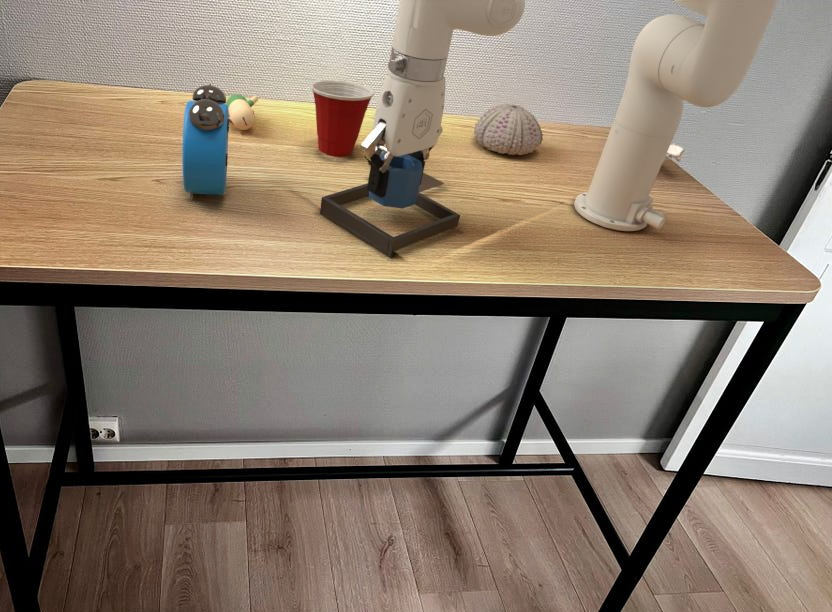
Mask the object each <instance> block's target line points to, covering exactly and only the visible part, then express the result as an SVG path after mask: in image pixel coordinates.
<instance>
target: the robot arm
mask: <svg viewBox="0 0 832 612" xmlns="http://www.w3.org/2000/svg"><path fill="white" fill-rule="evenodd" d="M673 1H674V2H675V3H676V4H679V5H680V6H682V7H684V8H685V9H688V10H689V11H690V10H691V11H692V12H695V13H697V14H700V15H702V16H704V17H705V18H706V19H705V23H702V22H700V21H697V20H695V19H694V18H691V17H689V16H685V15H682V14H675V13H670V14H669V13H668V14H664V15H660V16H657V17H655V18H654V19H652V20H651V21H649V22H648V23H647V24H646V25H645V26H644V27H643V28H642V30H641V31H640V32H639V34H638V35H637V37H636V39H635V41H634V43H633V47H632V51H631V54H630V61H629V67H628V73H627V78H626V83H625V87H624V91H623V94H622V96H621V100H620V103H619V105H618V108H617V111H616V114H615V116H614V119H613V121H612V124H611V126H610V130H609V133H608V136H607V138H606V141H605V143H604V147H603V149H602V152H601V155H600V158H599V160H598V163H597V166H596V169H595V171H594V173H593V177H592V180H591V183H590V185H589V188H588V190H587V191H585V192H581V193H580V194H578V195H577V196H576V197H575V200H574V203H573V206H574V209H575V211H576V212H577V213H578V214H579V215H580V216H581V217H583V218H584V219H585V220H587V221H589V222H591V223H593V224H595V225H598V226H600V227H602V228H607V229H609V230H613V231H620V232H636V231H640V230H643V229H644V228H646V227H647V226H648V225H649V226H651V227H653V228H655V229H657V230H661V229H662V228H663V226H664V224H665V223H666V218H665V212H662V211H661V210H658V209H656V208H654V207H653V205H652V203H653V201H654V199H655V198H654V197H652V196H650V193H651V192H652V189H653V187H654V184H655V182H656V179H657V178H658V175H659V172H660V170H661V168H662V166H663V164H664V162H665V160H664V158H665V159H666V156H667V154H668V153H667V151H668V149H669V146H670V144H671V145H672V143H673V142H672V141H673V139H674V136H675V135H676V133H677V130H678V129H679V125H680V123H681V119H682V115H683V111H684V101H685V102H687V103H689V104H692V105H694V106H696V107H700V108H712V107H717V106H719V105H721V104H722V103H724V102H726V101H727V100H728V99H729V98H731V97H732V95H733V94H735V92H736V91H737V90H738V89H739V88H740V85H741V84H742V83H743V81H744V79H745V77H746V75H747V73H748V71H749V69H750V67H751V65H752V62H753V60H754V57H755V55H756V53H757V51H758V48H759V46H760V44H761V41H762V39H763V37H764V34H765V32H766V29H767V27H768V25H769V22H770V21H771V18H772V15H773V13H774V11H775V8H776V6H777V3H778V0H673ZM397 8H398V9H397V13H396V20H395V26H394V32H393V38H392V45H391V50H390V55H389V61H388V63H387V74H385V77H384V79H383V82H382V86H381V89H380V92H379V96H378V99H377V102H376V103H377V104H376V107H375V112H374V115H373V116H374V117H373V122H372V129H371V132H370V133H369V134H368V136H367V137H366V138H365V139H364V141H362V142H361V144H360V149H361V151H362V153H363V155H364V159H366V161H367V165H368V166H370V167H369V168H370V169H369V173H368V180H367V183H368V185H367V189H368V191H370V192H372V193H373V194H375V195H377V196H379V197H380V198H382V197H385V195H386V189H387V184H388V178H389V171H387V168H388V166H389V164H390V162H391V160H392V158H393V156H402V155H406V154H407V155H409V156H411V157H413V158H415V159H417V160H419V161H421V162H422V169H423V171H422V176H423V172H424V171H425V165H426V161H428V160H429V158H430V152H431V151H432V150H433V148H434V147H435V146H436V144H437V143H438V140H439V137H440V135H441V134H442V133H443V126H442V122H443V117H444V116H443V115H444V109H445V99H446V98H445V97H446V77H445V71H446V66H447V62H448V56H449V52H450V49H451V44H452V39H453V33H454V30H461V31H465V32H469V33H472V34H476V35H481V36H484V37H485V36H487V37H494V36H495V37H496V36H500V35H503V34H505V33H507V32H509V31H511V30H512V29H513V28H515V27H516V26H517V24H519V22H520V20H521V19H522V17H523V14H524V12H525V9H526V0H398V7H397ZM385 152H386V155H385V157H384V159H383V161H382V159H381V158H380V157H379V156H380V154H381V153H385ZM410 153H412V154H410ZM422 176H421V180H422ZM420 185H421V181H420ZM420 185H419V186H420Z"/></svg>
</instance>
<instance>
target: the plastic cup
mask: <svg viewBox="0 0 832 612" xmlns="http://www.w3.org/2000/svg"><path fill="white" fill-rule="evenodd" d="M310 89H311V91H312V93H313V98H314V106H315V120H316V135H317V148H318V151H320V152H321V153H322V154H324V155H326V156H330V157H333V158H334V157H336V158H345V157H346V158H347V157H348V156H351V155H352V154H353V152H354V149H355V146H356V142H357V141H358V138H359V135H360V132H361V128H362V125H363V122H364V118H365V115H366V112H367V110H368V107H369V105H370V102H371V100H372V98H373V97H374V96H375V91H374V90H373V89H372V88H370V87H369V86H367V85H364V84H360V83H357V82H352V81H346V80H335V79H332V80H331V79H329V80H328V79H327V80H319V81H318V80H317V81H313V82H312V83H311V84H310Z"/></svg>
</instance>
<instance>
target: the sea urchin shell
mask: <svg viewBox="0 0 832 612" xmlns="http://www.w3.org/2000/svg"><path fill="white" fill-rule="evenodd" d="M473 129H474V131H473V133H474V138H476V141H477V142H478V145H480V146H482V148H485V149H487V150H489V151H492V152H496V153H498V154H503V155H504V154H507V155H511V156H515V155H518V156H523V155H528V154H530V153H531V154H532V153H533V151H537V149H538V148H539V147H540V146H541V145H542V142H543V140H544V138H543V136H544V134H543V130H542V127H541V125H540V123H539V122H538V119H537V118H536V117H535V115H533V114H532V113H531V111H528V110H527V109H525V108H524V107H523V106H521V105H516V104H510V103H500V104H497V105H495V106H492V107H491V108H488V109H487V111H484V113H483V115H481V116H480V117H479V119H478V120H477V121H476V123H475V124H474V128H473Z"/></svg>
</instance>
